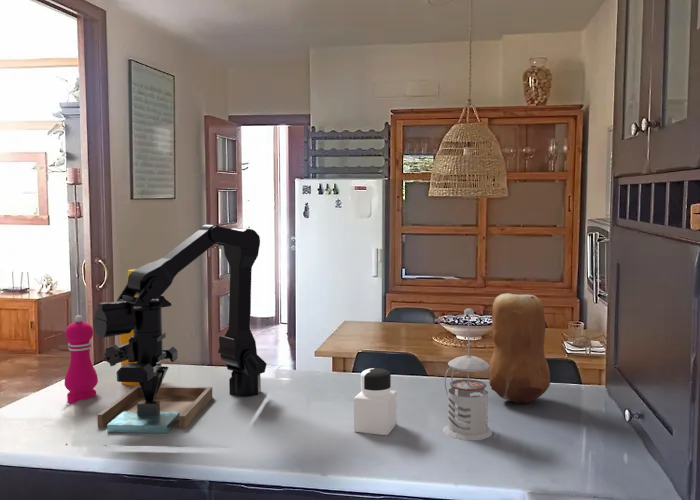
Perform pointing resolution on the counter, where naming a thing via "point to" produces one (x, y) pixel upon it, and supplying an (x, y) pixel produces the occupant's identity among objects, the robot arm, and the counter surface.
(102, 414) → the walnut box
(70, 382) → the pepper mill
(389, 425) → the medicine bottle
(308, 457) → the counter surface
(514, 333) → the butternut squash
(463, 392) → the french press
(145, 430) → the cover plate
